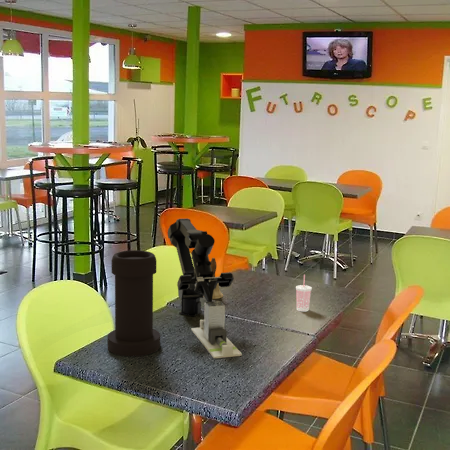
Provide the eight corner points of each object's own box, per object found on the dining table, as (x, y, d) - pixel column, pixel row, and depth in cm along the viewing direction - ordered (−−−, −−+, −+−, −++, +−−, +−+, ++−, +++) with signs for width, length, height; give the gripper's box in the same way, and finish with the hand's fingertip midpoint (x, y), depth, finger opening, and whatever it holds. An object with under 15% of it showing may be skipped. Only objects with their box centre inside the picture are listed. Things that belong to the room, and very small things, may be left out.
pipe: (139, 333, 206) (139, 246, 200) (170, 347, 194) (171, 255, 189) (97, 345, 194) (96, 253, 189) (127, 360, 183) (127, 263, 177)
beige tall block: (203, 335, 202) (204, 302, 200) (219, 334, 204) (220, 300, 202) (208, 340, 198) (209, 306, 196) (224, 339, 199) (225, 305, 197)
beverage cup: (310, 307, 239) (312, 273, 236) (310, 312, 233) (312, 277, 230) (294, 306, 239) (296, 272, 237) (294, 311, 233) (296, 276, 231)
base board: (191, 329, 210) (191, 320, 210) (216, 327, 213) (216, 318, 213) (214, 358, 186) (214, 347, 186) (241, 355, 189) (242, 345, 188)
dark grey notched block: (209, 341, 197) (209, 330, 197) (223, 340, 199) (224, 328, 198) (211, 344, 195) (211, 332, 194) (226, 342, 197) (226, 331, 196)
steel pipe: (202, 327, 210) (202, 321, 210) (207, 326, 211) (208, 321, 210) (223, 351, 188) (223, 345, 188) (229, 351, 189) (229, 345, 189)
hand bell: (200, 298, 248) (201, 259, 245) (205, 292, 256) (206, 255, 253) (220, 299, 246) (221, 261, 243) (225, 294, 254) (226, 256, 251)
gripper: (221, 273, 221) (230, 312, 213) (171, 276, 215) (178, 316, 207) (229, 257, 213) (239, 296, 204) (177, 259, 207) (185, 300, 198)
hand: (210, 303), depth 204 cm, fingers closed
